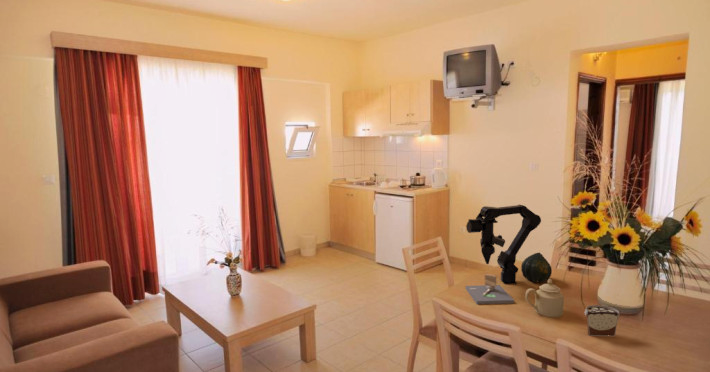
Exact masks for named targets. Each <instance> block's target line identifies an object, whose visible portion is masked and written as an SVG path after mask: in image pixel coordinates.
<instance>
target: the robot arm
mask: <svg viewBox="0 0 710 372" xmlns="http://www.w3.org/2000/svg"><path fill="white" fill-rule="evenodd" d="M516 214H517V215H520V217H522V221H521V227H520V229H519V231H518V232H517V234H516V235H515V237H514V238H513V240H512V242H511V244H510V245H509V246H508V248H507V249H506V250H505V251H503V250H501V251H500V253H499V255H498V256H497V259H496V262H497V265H498V266H499V267H500V269H501V272H500V279H499V280H500V281H501V282H502V283H503V284H504V285H506V284H507V285H508V284H510V285H511V284H512V285H514V284H518V283H517V281H516V280H517V279H516V278H517V273H518V272H519V268H518V267H517V266H516V265H515V263H516V261H517V258H516V257H517V254H518V253H519V250H520V249H521V247H522V246H523V244H524V243H525V241H526V240H527V238H528V237H529V235H530V234H531V232H532V231H534V230H536V229H537V228H538V227H539V226H540V224H541V223H542V219H541V218H542V217H541V216H540V215H539V214H536V213H534V212H533V211H532V210H531V209H529V208H528V207H527V206H526V205H522V204H517V205H510V206H509V205H508V206H499V207H497V206H495V207H494V206H488V205H487V206H486V205H485V206H483V207H481V209H480V210H479V213H478V215H477V216H476V218H473V219H472V218H468V221H467V222H466V225H465V226H466V231H467V232H468V233H469V234H472V233H473V234H475V233H481V238H480V242H479V243H480V248H481V250H480V251H481V254H482V256H483V259H484V262H485V264H486V265H489V264H490V260H491V256H492V255H494V254H495V252H496V248H495V245H497V246H498V247H501V248H504V245H505V243H506V240H505V239H504V238H503V236H502V235H500V234H499V235H495V234H494V226H495V225H494V224H497V223H499V222H498V220H497V218H499V217H502V216H507V215H509V216H510V215H516Z"/></svg>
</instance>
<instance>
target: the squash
mask: <svg viewBox="0 0 710 372" xmlns="http://www.w3.org/2000/svg"><path fill="white" fill-rule="evenodd" d="M520 268H521V269H520V270H521V273H522V276H523V278H525V279H528V280H532V282H533V283H539V282H540V283H543V282H545V281H548V280H549V279H551V276H552V271H553V270H552V269H553V268H552V266H551V265H550V263H549V262H548V260H547V259H546V258H545V257H544V255H543V254H542V253H541V252H536V253H535V252H534V253H533V254H531V255H529V256H527V257H526V258H524V260H523V261H522V263H521V266H520Z"/></svg>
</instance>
